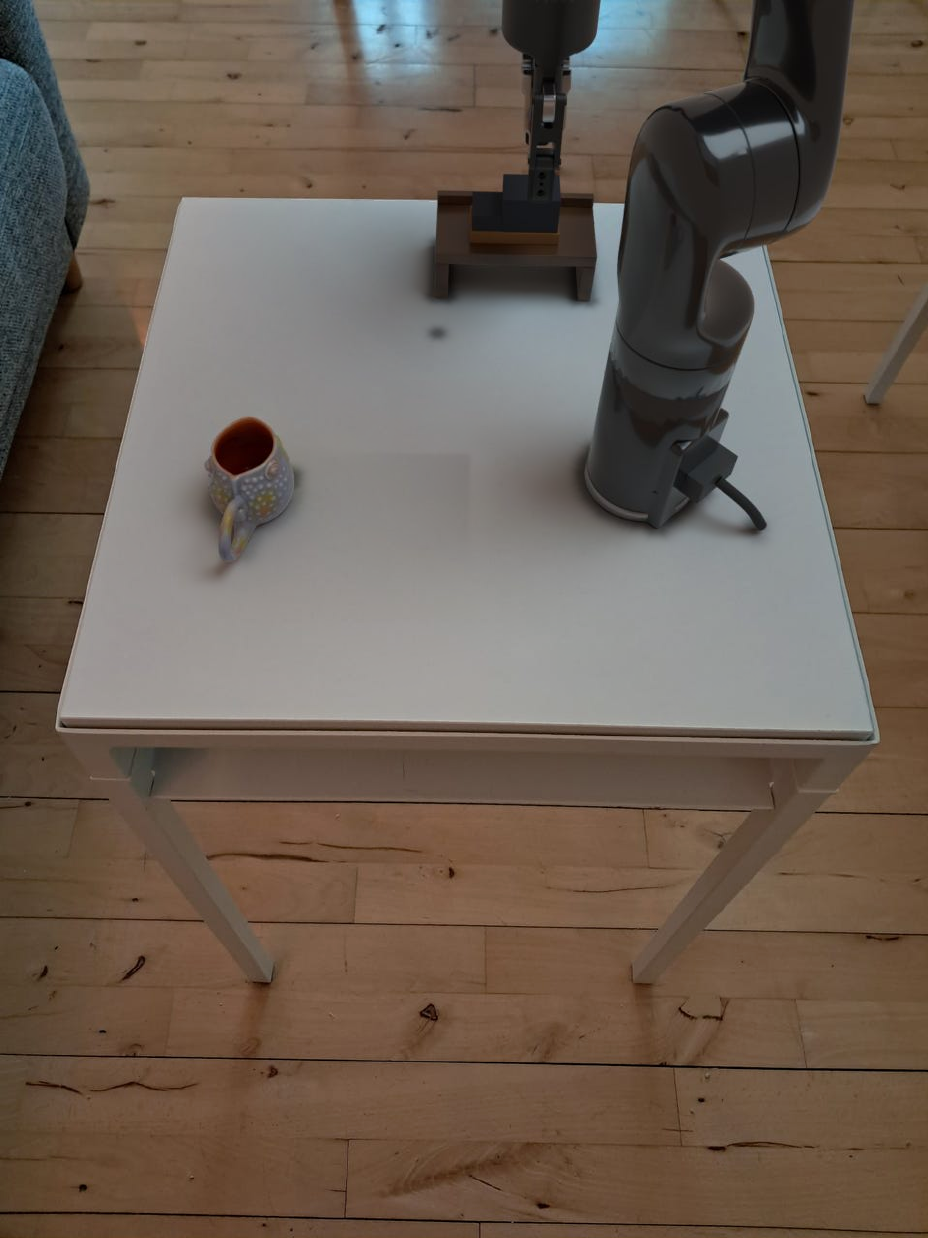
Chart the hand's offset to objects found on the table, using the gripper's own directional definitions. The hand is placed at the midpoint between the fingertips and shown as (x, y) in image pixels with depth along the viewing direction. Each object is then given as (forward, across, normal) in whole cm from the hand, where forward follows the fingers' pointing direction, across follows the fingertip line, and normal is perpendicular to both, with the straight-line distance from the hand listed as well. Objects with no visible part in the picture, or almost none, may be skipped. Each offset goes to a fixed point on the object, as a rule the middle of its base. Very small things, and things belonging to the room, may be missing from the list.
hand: (538, 170), depth 84 cm
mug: (+12, -31, +24) cm, 41 cm away
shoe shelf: (+12, +1, +2) cm, 12 cm away
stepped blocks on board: (+6, 0, +2) cm, 7 cm away
